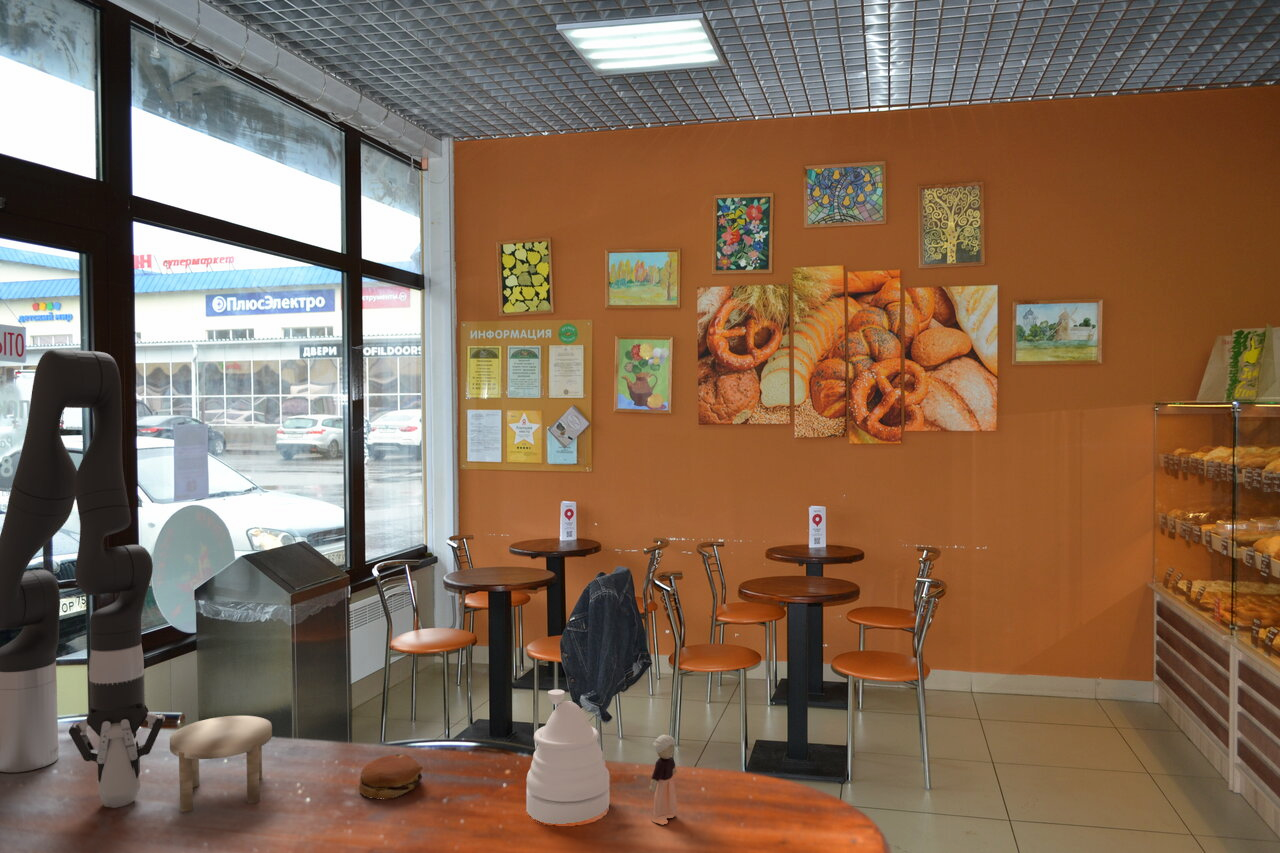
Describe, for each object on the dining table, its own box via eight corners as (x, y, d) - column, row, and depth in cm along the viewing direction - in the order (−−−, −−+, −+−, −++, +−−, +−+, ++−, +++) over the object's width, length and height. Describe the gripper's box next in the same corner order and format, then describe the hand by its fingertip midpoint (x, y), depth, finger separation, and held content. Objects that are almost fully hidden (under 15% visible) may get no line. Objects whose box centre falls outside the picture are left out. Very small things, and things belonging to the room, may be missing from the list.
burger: (355, 802, 152) (355, 773, 152) (364, 779, 161) (364, 751, 161) (420, 799, 153) (419, 770, 153) (424, 776, 163) (424, 749, 162)
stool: (164, 819, 146) (163, 754, 145) (177, 781, 160) (176, 721, 160) (271, 805, 151) (270, 742, 150) (274, 769, 165) (273, 711, 164)
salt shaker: (148, 795, 154) (146, 715, 154) (125, 811, 149) (124, 727, 148) (113, 793, 155) (112, 713, 155) (90, 809, 149) (88, 726, 149)
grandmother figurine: (670, 830, 142) (670, 745, 142) (645, 826, 143) (645, 742, 143) (683, 808, 150) (683, 727, 149) (659, 805, 151) (659, 724, 150)
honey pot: (511, 819, 146) (511, 701, 145) (548, 786, 158) (548, 677, 157) (590, 832, 142) (589, 711, 141) (622, 797, 154) (621, 685, 153)
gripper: (169, 663, 157) (171, 768, 158) (71, 671, 152) (73, 779, 153) (163, 676, 150) (165, 786, 151) (59, 685, 145) (62, 799, 146)
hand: (119, 782), depth 152 cm, fingers closed on salt shaker, 3 cm apart
